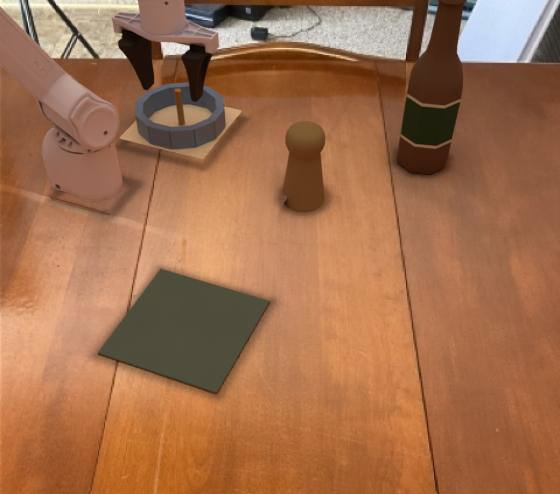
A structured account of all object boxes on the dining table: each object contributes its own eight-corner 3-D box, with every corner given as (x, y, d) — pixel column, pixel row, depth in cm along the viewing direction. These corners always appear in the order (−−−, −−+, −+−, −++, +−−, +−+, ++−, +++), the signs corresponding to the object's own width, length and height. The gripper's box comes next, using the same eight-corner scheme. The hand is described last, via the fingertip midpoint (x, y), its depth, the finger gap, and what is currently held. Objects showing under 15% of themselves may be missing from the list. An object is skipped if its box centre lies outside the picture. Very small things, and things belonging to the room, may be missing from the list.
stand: (120, 146, 103) (111, 104, 97) (164, 100, 111) (158, 58, 105) (203, 168, 99) (199, 124, 94) (242, 119, 108) (240, 76, 102)
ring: (122, 137, 102) (118, 119, 99) (164, 94, 109) (161, 76, 107) (201, 157, 99) (199, 138, 96) (238, 111, 106) (238, 93, 104)
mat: (97, 354, 77) (97, 352, 77) (160, 270, 86) (160, 268, 86) (216, 394, 74) (216, 392, 74) (269, 302, 83) (269, 300, 82)
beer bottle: (455, 155, 102) (496, -16, 83) (434, 182, 97) (471, 8, 79) (408, 139, 104) (437, -31, 85) (385, 165, 100) (410, -8, 81)
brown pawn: (320, 214, 93) (325, 143, 84) (277, 208, 94) (277, 137, 85) (327, 187, 97) (332, 117, 88) (286, 182, 97) (287, 111, 89)
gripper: (226, -15, 84) (232, 89, 95) (125, -34, 88) (141, 68, 98) (200, 9, 80) (209, 114, 91) (95, -12, 84) (116, 92, 94)
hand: (172, 92), depth 94 cm, fingers open, 7 cm apart
